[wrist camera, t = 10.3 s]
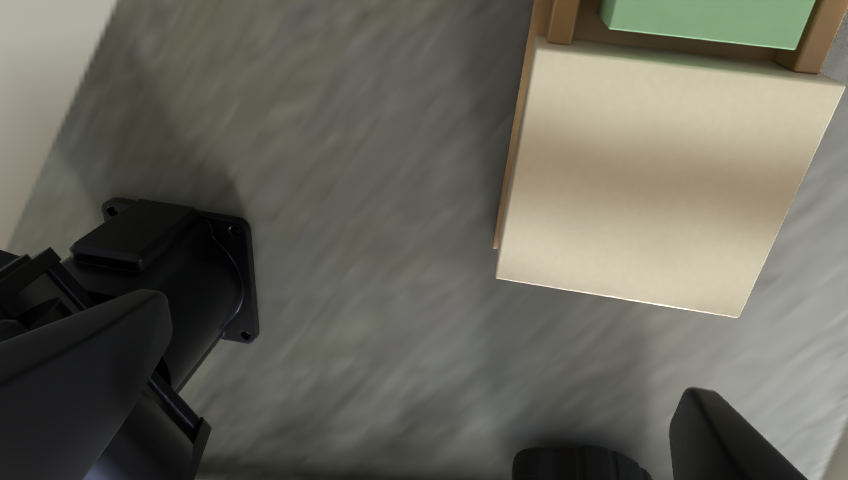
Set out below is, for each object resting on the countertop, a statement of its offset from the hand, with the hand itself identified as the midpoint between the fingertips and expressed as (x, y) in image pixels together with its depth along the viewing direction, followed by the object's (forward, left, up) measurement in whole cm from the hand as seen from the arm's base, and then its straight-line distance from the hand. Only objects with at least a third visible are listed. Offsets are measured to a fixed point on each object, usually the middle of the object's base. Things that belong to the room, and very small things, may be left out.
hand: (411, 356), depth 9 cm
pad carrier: (+4, -6, -12) cm, 14 cm away
